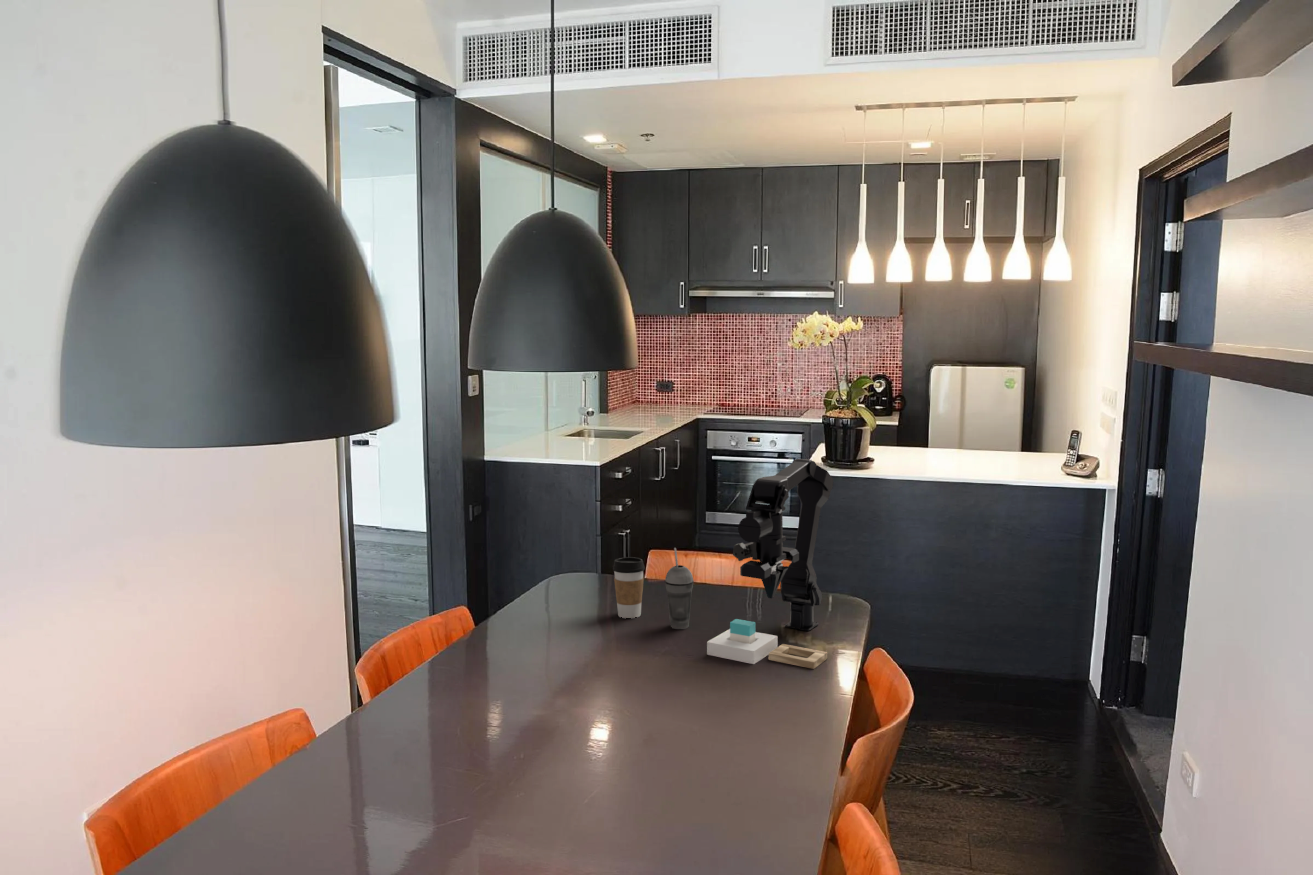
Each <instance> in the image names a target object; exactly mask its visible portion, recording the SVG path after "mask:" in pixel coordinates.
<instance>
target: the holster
mask: <svg viewBox="0 0 1313 875" xmlns="http://www.w3.org/2000/svg"><path fill="white" fill-rule="evenodd" d="M827 659H828V652H827V651H822V650H816V649H811V648H805V647H803V646H802V647H801V646H796V645H792V644H785V643H782V644H781V645H779V646H777V648H776V649H774V650H773V651H771V652H770V653H769V655H768V660H769V661H773V662H777V663H782V664H788V665H794V666H798V667H803V668H808V669H812V670H813V669H814V670H815V669H816V668H818V666H820V665H821V664H823V663H824V662H825V661H826V660H827Z"/></svg>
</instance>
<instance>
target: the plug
mask: <svg viewBox="0 0 1313 875" xmlns="http://www.w3.org/2000/svg"><path fill="white" fill-rule="evenodd" d="M729 629H730V640H732V641H737V642H742V643H747V644H752V643H753V642H755V632H756V622H755V621H750V620H744V619H741V618H740V619H738V618H735V619H733V620H732V621H730V622H729Z"/></svg>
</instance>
